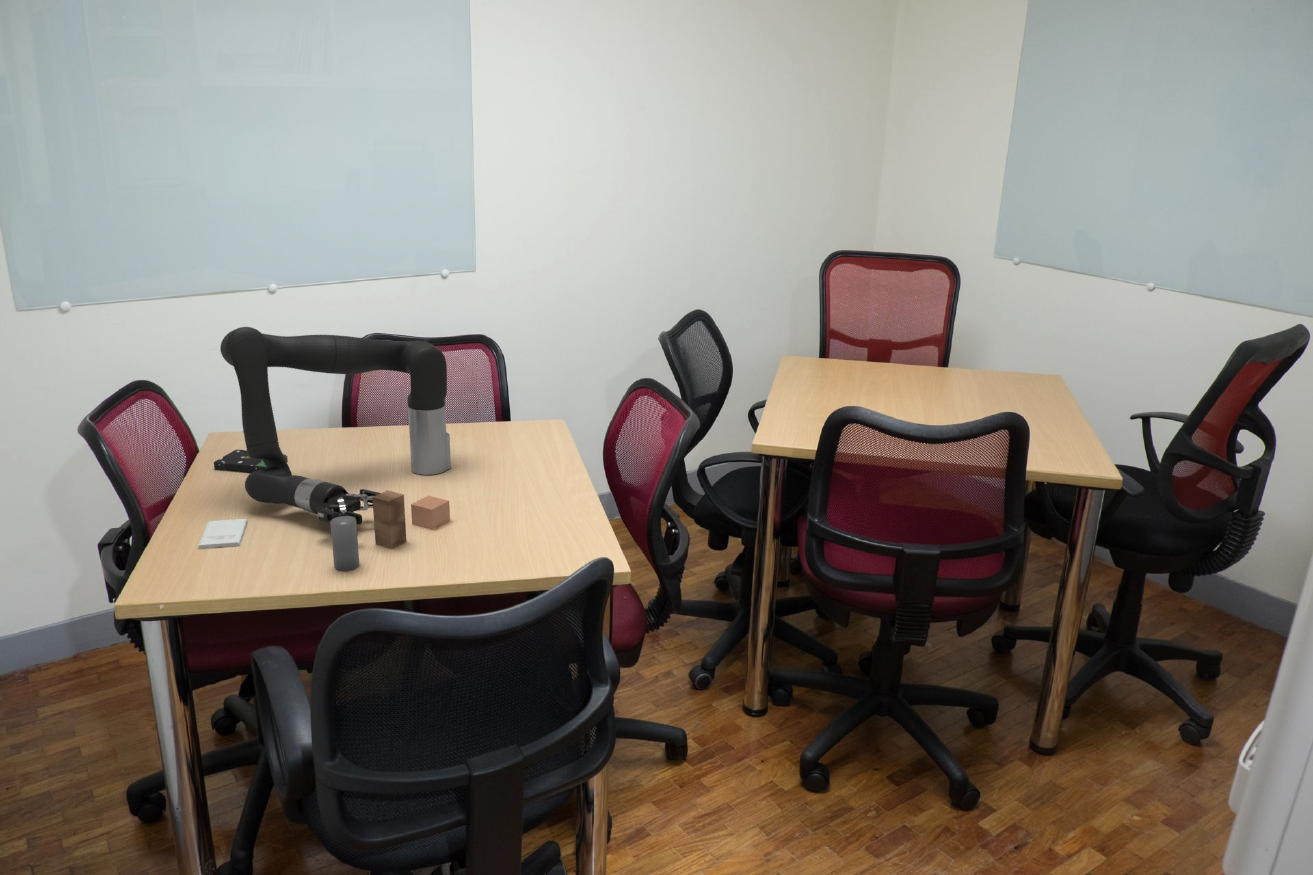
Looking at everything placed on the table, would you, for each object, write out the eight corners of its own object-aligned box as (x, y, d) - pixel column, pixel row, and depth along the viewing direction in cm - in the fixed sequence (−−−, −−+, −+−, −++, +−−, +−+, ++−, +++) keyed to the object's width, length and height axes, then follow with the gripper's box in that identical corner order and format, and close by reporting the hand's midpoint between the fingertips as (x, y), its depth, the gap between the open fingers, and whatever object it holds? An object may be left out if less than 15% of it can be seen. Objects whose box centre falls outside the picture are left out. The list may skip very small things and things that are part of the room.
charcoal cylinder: (353, 558, 210) (350, 514, 206) (363, 566, 206) (360, 522, 203) (330, 564, 207) (326, 519, 203) (339, 573, 203) (336, 527, 200)
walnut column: (390, 536, 220) (387, 490, 217) (406, 541, 218) (403, 494, 215) (375, 544, 216) (372, 497, 213) (391, 549, 214) (388, 501, 211)
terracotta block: (429, 515, 232) (428, 495, 230) (450, 520, 229) (449, 500, 228) (412, 524, 227) (410, 504, 225) (432, 530, 224) (431, 509, 223)
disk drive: (214, 472, 255) (268, 476, 253) (212, 462, 254) (266, 466, 252) (236, 458, 265) (288, 462, 263) (235, 448, 264) (287, 452, 262)
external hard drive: (247, 525, 225) (240, 548, 214) (208, 527, 223) (198, 551, 212) (247, 518, 225) (239, 541, 213) (207, 521, 223) (197, 544, 211)
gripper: (294, 492, 217) (350, 508, 210) (343, 472, 229) (397, 486, 222) (297, 524, 219) (352, 540, 212) (345, 503, 231) (399, 518, 224)
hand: (375, 513), depth 217 cm, fingers open, 8 cm apart
